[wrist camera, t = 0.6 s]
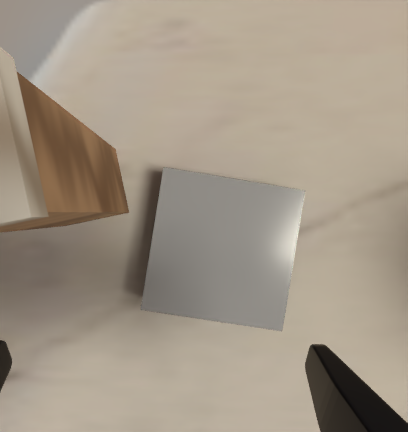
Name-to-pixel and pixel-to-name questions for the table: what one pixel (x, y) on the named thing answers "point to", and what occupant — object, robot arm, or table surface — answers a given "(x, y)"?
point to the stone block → (222, 249)
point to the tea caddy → (50, 161)
